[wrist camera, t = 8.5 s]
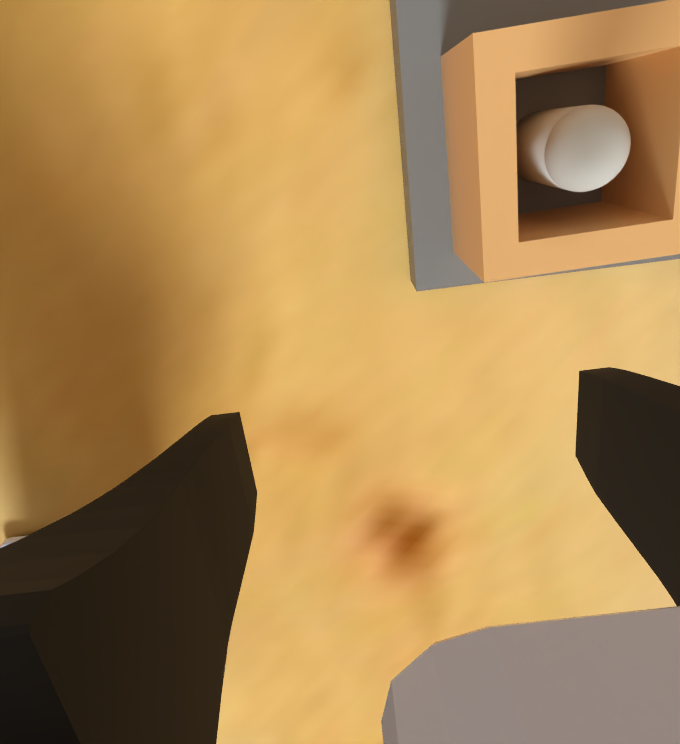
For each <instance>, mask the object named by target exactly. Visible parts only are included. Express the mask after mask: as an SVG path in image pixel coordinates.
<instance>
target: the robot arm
mask: <svg viewBox="0 0 680 744" xmlns="http://www.w3.org/2000/svg"><path fill="white" fill-rule="evenodd" d="M576 457H577V459H578V461H579V463H580V465H581V467H582V469H583V471H584V473H585V475H586V477H587V479H588V481H589V482H590V484H591V486H592V488H593V490H594V491H595V493H596V494H597V496H598V497H599V499H600V500H601V502H602V503H603V504H604V506H605V507H606V508H607V510H608V511H609V512H610V514H611V515H612V517H613V518H614V519H615V521H616V522H617V523H618V525H619V526H620V527H621V529H622V530H623V531H624V533H625V534H626V535H627V537H628V538H629V539H630V541H631V542H632V543H633V545H634V546H635V547H636V549H637V550H638V551H639V553H640V554H641V555H642V557H643V558H644V559H645V561H646V562H647V563H648V565H649V566H650V567H651V569H652V570H653V571H654V573H655V574H656V575H657V577H658V578H659V579H660V581H661V582H662V584H663V585H664V587H665V588H666V590H667V591H668V593H669V594H670V596H671V597H672V599H673V600H674V602H675V604H676V605H677V607H667V608H658V609H648V610H639V611H630V612H620V613H611V614H601V615H592V616H583V617H573V618H564V619H554V620H545V621H536V622H526V623H517V624H507V625H498V626H489V627H485V628H481V629H478V630H475V631H472V632H468V633H465V634H462V635H458V636H455V637H452V638H449V639H445V640H442V641H439V642H436V643H434V644H433V645H431V646H430V647H429V648H428V649H427V650H426V651H424V652H423V653H422V654H421V655H420V656H419V657H418V658H417V659H415V660H414V661H413V662H412V663H411V664H410V665H409V666H407V667H406V668H405V669H404V670H403V671H402V672H401V673H400V674H398V675H397V676H396V677H395V678H394V679H393V680H392V681H391V684H390V688H389V692H388V697H387V701H386V705H385V709H384V713H383V717H382V732H383V743H384V744H680V386H677V385H674V384H671V383H667V382H664V381H661V380H658V379H654V378H651V377H648V376H644V375H641V374H637V373H634V372H630V371H626V370H622V369H617V368H610V367H608V368H600V369H592V370H583V371H579V392H578V413H577V435H576ZM256 499H257V490H256V485H255V481H254V476H253V471H252V467H251V462H250V458H249V453H248V449H247V444H246V440H245V435H244V431H243V426H242V422H241V417H240V412H236V413H228V414H219V415H211V416H210V417H208V418H206V419H205V420H203V421H202V422H201V423H199V424H198V425H197V426H195V427H194V428H193V429H192V430H190V431H189V432H188V433H187V434H185V435H184V436H183V437H182V438H180V439H179V440H178V441H177V442H175V443H174V444H173V445H172V446H170V447H169V448H168V449H167V450H166V451H164V452H163V453H162V454H161V455H159V456H158V457H157V458H155V459H154V460H153V461H151V462H150V463H149V464H147V465H146V466H144V467H143V468H142V469H140V470H139V471H138V472H136V473H135V474H133V475H132V476H131V477H129V478H128V479H127V480H125V481H124V482H123V483H121V484H120V485H118V486H117V487H115V488H114V489H112V490H110V491H109V492H107V493H106V494H104V495H103V496H101V497H99V498H98V499H96V500H94V501H93V502H91V503H89V504H87V505H86V506H84V507H82V508H81V509H79V510H77V511H75V512H74V513H72V514H70V515H68V516H66V517H64V518H62V519H60V520H58V521H56V522H54V523H52V524H50V525H48V526H46V527H44V528H42V529H40V530H38V531H36V532H34V533H32V534H30V535H28V536H19V537H11V538H7V539H6V540H5V541H4V542H3V543H2V544H1V546H0V744H216V739H217V730H218V721H219V712H220V703H221V693H222V686H223V678H224V672H225V662H226V654H227V647H228V641H229V636H230V630H231V625H232V621H233V616H234V612H235V608H236V604H237V600H238V596H239V592H240V587H241V583H242V579H243V575H244V571H245V567H246V563H247V558H248V554H249V550H250V545H251V541H252V537H253V532H254V523H255V512H256Z"/></svg>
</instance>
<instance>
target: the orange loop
mask: <svg viewBox="0 0 680 744" xmlns="http://www.w3.org/2000/svg"><path fill="white" fill-rule="evenodd" d="M440 58H441V73H442V88H443V103H444V118H445V133H446V148H447V163H448V178H449V193H450V208H451V223H452V238H453V252H454V253H455V254H456V255H457V256H458V257H459V258H460V259H461V260H462V261H463V262H464V263H465V264H466V265H467V266H468V267H469V268H470V269H471V270H472V271H473V272H474V273H475V274H476V275H477V276H478V277H479V278H480V279H481V280H482V281H483V282H484V283H485V282H492V281H499V280H506V279H513V278H519V277H526V276H533V275H540V274H547V273H554V272H560V271H567V270H574V269H581V268H588V267H595V266H601V265H608V264H615V263H622V262H629V261H636V260H642V259H649V258H656V257H663V256H670V255H677V254H680V0H666V1H661V2H655V3H649V4H643V5H637V6H631V7H625V8H619V9H613V10H607V11H601V12H595V13H589V14H584V15H578V16H572V17H566V18H560V19H554V20H548V21H542V22H536V23H530V24H524V25H518V26H512V27H507V28H501V29H495V30H489V31H483V32H477V33H472V34H471V35H470V36H468V37H467V38H466V39H464V40H463V41H461V42H460V43H459V44H457V45H456V46H455V47H453V48H452V49H450V50H449V51H448V52H446V53H445V54H444V55H442V56H441V57H440ZM603 65H606V87H605V106H606V107H608V108H611V109H613V110H614V111H616V112H617V113H618V114H619V115H620V116H621V117H622V118H623V119H624V120H625V122H626V124H627V126H628V128H629V132H630V138H631V146H630V152H629V155H628V158H627V161H626V163H625V165H624V166H623V168H622V169H621V171H620V172H619V173H618V174H617V176H615V177H614V178H613V179H612V180H611V181H610V182H608V183H607V184H605V185H604V186H602V194H601V201H600V202H594V203H587V204H580V205H574V206H567V207H561V208H554V209H548V210H541V211H534V212H528V213H521V214H518V189H517V139H516V89H515V80H518V79H524V78H530V77H536V76H542V75H548V74H554V73H560V72H566V71H573V70H579V69H585V68H591V67H597V66H603Z"/></svg>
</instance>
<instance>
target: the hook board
mask: <svg viewBox="0 0 680 744" xmlns="http://www.w3.org/2000/svg"><path fill="white" fill-rule="evenodd" d="M661 1H666V0H390V11H391V24H392V37H393V50H394V64H395V77H396V90H397V103H398V117H399V130H400V143H401V156H402V169H403V183H404V196H405V209H406V222H407V235H408V249H409V262H410V275H411V282H412V283H413V285H414V287H415V289H416V291H423V290H431V289H439V288H447V287H455V286H463V285H472V284H480V283H484V282H483V281H482V280H481V279H480V278H479V277H478V276H477V275H476V274H475V273H474V272H473V271H472V270H471V269H470V268H469V267H468V266H467V265H466V264H465V263H464V262H463V261H462V260H461V259H460V258H459V257H458V256H457V255H456V254H455V253H454V252H453V238H452V223H451V208H450V193H449V178H448V163H447V148H446V133H445V118H444V103H443V88H442V73H441V58H440V57H441V56H442V55H444V54H445V53H446V52H448V51H449V50H450V49H452V48H453V47H455V46H456V45H457V44H459V43H460V42H461V41H463V40H464V39H466V38H467V37H468V36H470V35H471V34H472V33H477V32H483V31H489V30H495V29H501V28H507V27H512V26H518V25H524V24H530V23H536V22H542V21H548V20H554V19H560V18H566V17H572V16H578V15H584V14H589V13H595V12H601V11H607V10H613V9H619V8H625V7H631V6H637V5H643V4H649V3H655V2H661ZM605 87H606V65H603V66H597V67H591V68H585V69H579V70H573V71H566V72H560V73H554V74H548V75H542V76H536V77H530V78H524V79H518V80H515V89H516V139H517V189H518V214H521V213H528V212H534V211H541V210H548V209H554V208H561V207H567V206H574V205H580V204H587V203H594V202H600V201H601V194H602V186H604V185H605V184H607V183H608V182H610V181H611V180H612V179H613V178H614V177H615V176H617V174H618V173H619V172H620V171H621V169H622V168H623V166H624V165H625V163H626V161H627V158H628V155H629V152H630V146H631V138H630V132H629V128H628V126H627V124H626V122H625V120H624V119H623V118H622V117H621V116H620V115H619V114H618V113H617V112H616V111H614V110H613V109H611V108H608V107H606V106H605ZM673 259H680V254H677V255H670V256H663V257H656V258H649V259H642V260H636V261H629V262H622V263H615V264H608V265H601V266H595V267H588V268H581V269H574V270H567V271H560V272H554V273H547V274H540V275H533V276H526V277H519V278H513V279H520V278H528V277H536V276H544V275H552V274H560V273H568V272H576V271H584V270H592V269H600V268H608V267H616V266H624V265H633V264H641V263H649V262H657V261H665V260H673ZM506 280H512V279H506ZM499 281H504V280H499ZM492 282H496V281H492ZM485 283H488V282H485Z"/></svg>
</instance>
